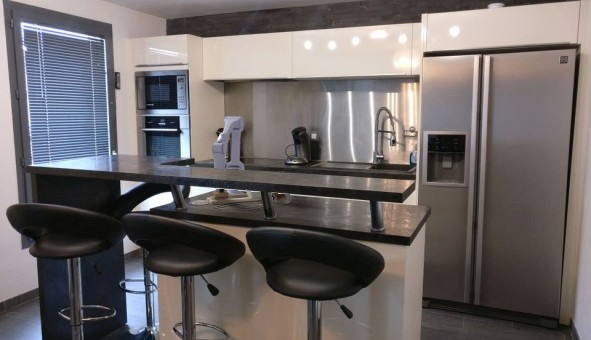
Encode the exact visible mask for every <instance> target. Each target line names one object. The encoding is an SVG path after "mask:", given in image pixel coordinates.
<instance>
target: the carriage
mask: <svg viewBox="0 0 591 340" xmlns="http://www.w3.org/2000/svg"><path fill="white" fill-rule="evenodd" d="M226 191H227V190H224V192H221V193H220V191H219V189H217V190H215V191H211V193H212V194H211V195H212V196H214V199H215V200H216V199H227V198H228V195H229V193H228V192H226Z"/></svg>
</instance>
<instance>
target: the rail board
mask: <svg viewBox="0 0 591 340" xmlns="http://www.w3.org/2000/svg"><path fill="white" fill-rule="evenodd" d="M206 201H207V202H208V203H209V204H210V205H220V204H230V203H231V204H232V203H234V204H235V203H243V202H254V201H262V200H261V197H254V198H251V197H249V196H248V194H247V192H246V193H245V192H244V194H232V195H231V194H228V198H227V199H216V200H215V199H214V196H213V195H212V196H211V195H210V196H209V197H206Z"/></svg>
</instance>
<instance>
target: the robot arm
mask: <svg viewBox="0 0 591 340" xmlns="http://www.w3.org/2000/svg"><path fill="white" fill-rule="evenodd" d="M244 123H245V122H244V118H243V116H228V115H226V116H225V117H224V119H223V124H224V127H223V130H222V132H221V133H219V136H218V137H217V139H216V141H215V142H214V143H212V146H211V152H212V157H213V169H214V168H217V169H225V170H226V169H239V170H245V165H244V163H243V162H242V161H241V160H240V158H241V157H240V155H241V154H240V153H241V135H242V132H243V131H244V128H245V127H244V126H245V125H244ZM230 135H231V137H230ZM230 138H231V148H230V149H231V150H230V151H231V152H230V161H229V162H227V163H226V153H227V150H228V144H229V141H230ZM215 189H216V188H215ZM225 189H226V188H225ZM225 189H219V191H220V193H221V192H224V191H226V192H228V195H233V194H245V192H244V191H238V190H228V189H227V190H225ZM215 191H217V189H216V190H215Z"/></svg>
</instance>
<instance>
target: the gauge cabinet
mask: <svg viewBox="0 0 591 340" xmlns="http://www.w3.org/2000/svg"><path fill="white" fill-rule="evenodd" d="M246 193H247V194H248V196H249V197H251V198H254V197H261V194H260V192H251V191H247V190H246Z"/></svg>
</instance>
